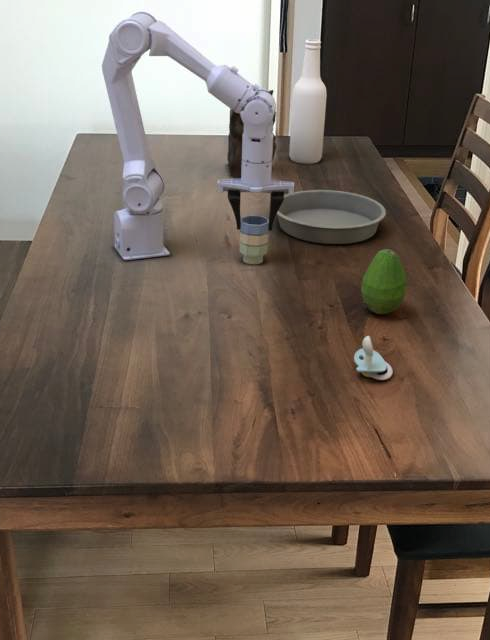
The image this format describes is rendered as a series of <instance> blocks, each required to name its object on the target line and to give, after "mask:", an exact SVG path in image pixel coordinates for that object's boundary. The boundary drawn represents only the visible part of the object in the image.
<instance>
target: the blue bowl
mask: <svg viewBox="0 0 490 640" xmlns="http://www.w3.org/2000/svg"><path fill="white" fill-rule="evenodd" d="M240 222H241V229H240V230H239V232H240V231H241V232H243V233H244V234H247V235H252V236H260V235H263V234H266V233H267V232H268V233H269V232H270V231H269V230H268V228H269V217H265V216H262V215H252V214H249V215H244V216H242V217H241V221H240Z"/></svg>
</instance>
